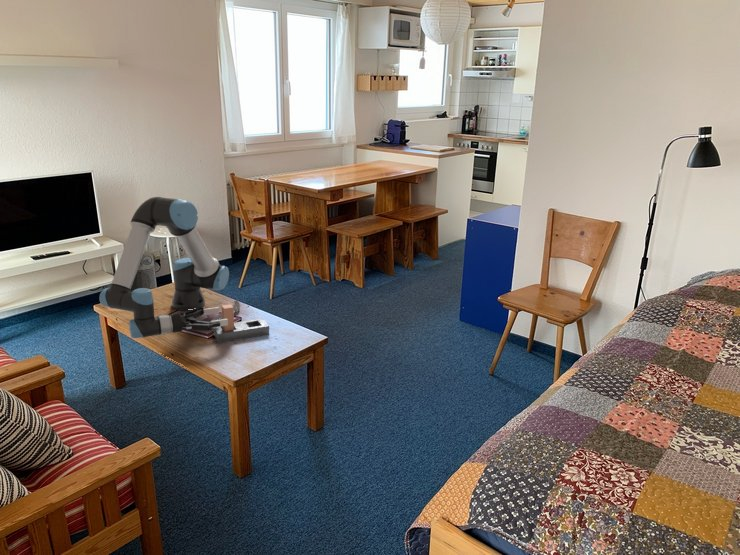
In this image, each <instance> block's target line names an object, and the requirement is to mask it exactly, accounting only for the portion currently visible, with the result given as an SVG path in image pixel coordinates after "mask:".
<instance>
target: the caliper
mask: <svg viewBox="0 0 740 555" xmlns="http://www.w3.org/2000/svg"><path fill="white" fill-rule="evenodd" d="M231 305H232V306H233V307H234V313H238V312H240V310H241V304H240V301H239V300H238V299H235V300H234V302H233V303H232V304H231ZM221 317H222V312H221V313H218V314H217V316H215V317H214V318H212V319H211V320H210V321H209V322H211V321H215V320H217V319H219V318H220V319H222V318H221ZM220 319H219V320H220Z"/></svg>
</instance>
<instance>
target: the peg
mask: <svg viewBox="0 0 740 555" xmlns="http://www.w3.org/2000/svg"><path fill="white" fill-rule="evenodd" d="M221 313H222V318H221V319H228V325H227V326H223V331H230V330H234V323H235V314H234V313H235V311H234V307H233V306H232V304H231V303H230V304H222V305H221Z"/></svg>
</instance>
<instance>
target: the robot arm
mask: <svg viewBox="0 0 740 555" xmlns="http://www.w3.org/2000/svg"><path fill="white" fill-rule="evenodd" d="M198 220H199V216H198V210H197V208H196V206H195V204H194V203H192V201H189V200H185V199H181V198H179V199H178V198H171V197H170V198H167V197H161V196H153V197H149V198H148V199H146V200H144V202H142V203H141V204H140V205H139V207H138V208H137V209H136V210H135V212H133V215H132V217H131V220H130V223H129V224H130V226H131V228H130V231H129V233H128V237H127V238H126V242H125V244H124V247H123V250H122V253H121V256H120V258H119V262H118V264H117V267H116V270H115V272H114V275H113V277H112V278H113V279H112V280H111V284H110V286H109V287H105V288H103V290H102V291H101V292H100V294H99V298H98V299H99V302H100V304H101V305H102V306H103V307H105V308H106V307H107V308H110V309H115V310H120V311H121V310H122V311H126V312H130V313H133V319H130V320H129V321H128V327H129V334H130V337H131V338H133V339H142V338H143V339H144V338H148V337H154V336H159V335H161V336H162V335H164V336H165V335H167V334H172V333H180V332H182V331H183V328H186V329H185V330H186V331H187V332H189V331H201V332H202V331H204V332H206V331H207V332H208V331H209V332H210V331H213V328H214V327H220V326H227V325H228V319H222V318H220V319H219V320H215V321H211V320H210V321H211V322H210V321H206V320H198V318H200V317H202V316H210V315H216V314H217V315H219V314H221V313H220V306H216V307H209V308H204V306H205V305H206V299H205V297H204V294H203V291H202V289H206V290H207V289H208V290H213V291H222V290H223V289H225V287H226V286H227V284H228V282H229V278H230V271H229V267H227V266H225V265H221V264H220V262H219V260H218V259H217V258H215V257H213V256H212V255H211V253H210V251H209V250H208V248H207V246H206V244H205V241H204V240H203V238H202V237H201V235H200V233H199V231H198V229H197V227H196V226H197V222H198ZM157 226H161V227H166V228H167V230H168V231H169V233H170V234H171V235H172V236H174V237H176V238H177V240H179V242H180V244H181V246H182V248H183V249H184V251H185V252H186V254H187V256H186V257H182V258H179V259H177V260H175V261H174V262H173V266H172V268H173V270H172V271H173V282H174V292H173V297H172V301H171V306H172V308H173V309H174V310H177V311H184V312H180V313H171V314H170V315H169V314H163V315H158V316H157V315H156V316H155V306H154V304H155V303H154V297H153V291H152V290H151V289H150V288H146V287H140V288H136V289H134V290H132V291H131V289H132V287H133V284H134V281H135V278H136V275H137V273H138V269H139V267H140V263H141V262H142V258H143V255H144V253H145V250H146V247H147V245H148V243H149V238H150V236H151V234H152V233H154V232H155V229H156V228H157ZM201 288H202V289H201ZM194 308H196V309H194ZM188 309H193V310H188Z"/></svg>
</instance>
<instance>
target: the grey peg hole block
mask: <svg viewBox="0 0 740 555" xmlns="http://www.w3.org/2000/svg"><path fill="white" fill-rule="evenodd" d="M212 331H213V332H214V334H213V337H215V340H216V341H217V343H219V344H220V343H226V342H232V341H238V340H243V339H251V338H256V337H262V336H267V335H270V325H269V324H268V323H267V322H266V321H265V319H264V318H257V319H250V320H244V321H243V320H242V321H238V322H237V321H236V322H235V321H234V330H230V331H223V326H220V327H214V328H212Z"/></svg>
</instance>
